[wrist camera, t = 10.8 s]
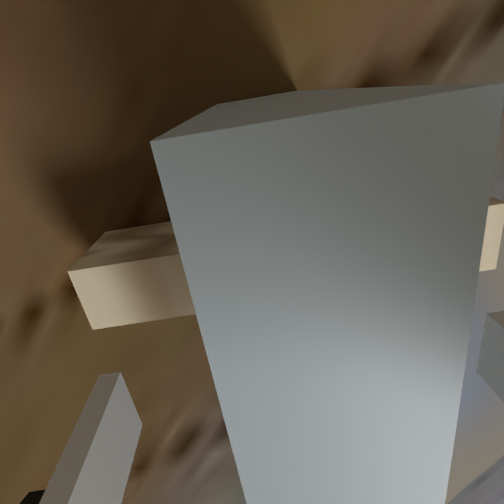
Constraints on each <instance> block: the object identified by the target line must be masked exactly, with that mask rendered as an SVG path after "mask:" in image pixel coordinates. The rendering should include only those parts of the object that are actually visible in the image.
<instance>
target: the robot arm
mask: <svg viewBox="0 0 504 504" xmlns="http://www.w3.org/2000/svg"><path fill="white" fill-rule="evenodd" d="M477 373H478V374H479V375H480V377H481V378H482V379H483V380H484V381H485V382H486V383H487V384H488V386H489V387H490V388H491V389H492V390H493V391H494V392H495V393H496V395H497V396H498V397H499V398H500V399H501V400H502V401H503V402H504V311H500V312H494V313H487V314H486V319H485V325H484V331H483V337H482V343H481V349H480V355H479V361H478V367H477ZM141 428H142V423H141V420H140V418H139V416H138V413H137V411H136V408H135V406H134V403H133V401H132V399H131V396H130V394H129V391H128V389H127V387H126V384H125V382H124V379H123V377H122V375H121V372H116V373H110V374H104V375H99V377H98V379H97V381H96V383H95V385H94V388H93V390H92V392H91V394H90V396H89V398H88V400H87V403H86V405H85V407H84V409H83V411H82V413H81V415H80V417H79V420H78V422H77V424H76V426H75V428H74V430H73V432H72V434H71V437H70V439H69V441H68V443H67V445H66V447H65V449H64V452H63V454H62V456H61V458H60V460H59V462H58V464H57V466H56V469H55V471H54V473H53V475H52V477H51V479H50V481H49V484H48V486H47V488H46V490H40V491H34V492H29V493H28V494H27V495H26V497H25V498H24V499H23V500H22V501H21V503H20V504H121V503H122V499H123V495H124V491H125V488H126V484H127V480H128V476H129V473H130V469H131V465H132V462H133V458H134V454H135V450H136V447H137V443H138V439H139V435H140V432H141Z"/></svg>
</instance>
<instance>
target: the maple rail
mask: <svg viewBox="0 0 504 504" xmlns="http://www.w3.org/2000/svg"><path fill="white" fill-rule="evenodd" d="M503 224H504V202H503V201H501V200H498V199H496V198H493V197H491V196H490V199H489V206H488V213H487V220H486V227H485V234H484V240H483V247H482V254H481V261H480V268H479V271H485V270H492V269H496V264H497V259H498V253H499V247H500V241H501V235H502V229H503ZM68 274H69V276H70V279H71V281H72V283H73V285H74V288H75V290H76V292H77V295H78V297H79V299H80V302H81V304H82V306H83V309H84V311H85V313H86V316H87V318H88V320H89V322H90V325H91V327H92V329H93V330H94V329H100V328H107V327H114V326H120V325H127V324H133V323H140V322H147V321H153V320H160V319H167V318H173V317H180V316H187V315H193V314H196V312H195V309H194V305H193V301H192V297H191V294H190V290H189V286H188V282H187V279H186V275H185V271H184V267H183V264H182V260H181V256H180V252H179V249H178V245H177V241H176V238H175V234H174V230H173V226H172V223H171V221H170V222H163V223H157V224H151V225H144V226H138V227H132V228H125V229H119V230H113V231H107V232H105V233H104V234H103V235H102V236H101V237H100V238H99V239H98V240H97V241H96V242H95V243H94V244H93V245H92V246H91V247H90V248H89V249H88V250H87V252H86V253H85V254H84V255H83V256H82V257H81V258H80V259H79V260H78V261H77V262H76V263H75V264H74V265H73V266H72V267H71V268H70V269H69V271H68Z"/></svg>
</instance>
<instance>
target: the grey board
mask: <svg viewBox="0 0 504 504" xmlns="http://www.w3.org/2000/svg"><path fill="white" fill-rule="evenodd" d="M503 104H504V82H501V83H476V84H450V85H425V86H400V87H375V88H349V89H324V90H299V91H292V92H286V93H280V94H274V95H268V96H262V97H256V98H250V99H244V100H238V101H232V102H226V103H220V104H216V105H214V106H213V107H211V108H209V109H207V110H205V111H204V112H202V113H200V114H198V115H196V116H195V117H193V118H191V119H189V120H187V121H186V122H184V123H182V124H180V125H178V126H177V127H175V128H173V129H171V130H169V131H168V132H166V133H164V134H162V135H160V136H159V137H157V138H155V139H153V140H151V141H150V144H151V148H152V152H153V155H154V159H155V163H156V167H157V170H158V174H159V178H160V182H161V185H162V189H163V193H164V196H165V200H166V204H167V208H168V211H169V215H170V219H171V223H172V226H173V230H174V234H175V238H176V241H177V245H178V249H179V252H180V256H181V260H182V264H183V267H184V271H185V275H186V279H187V282H188V286H189V290H190V294H191V297H192V301H193V305H194V309H195V312H196V316H197V320H198V323H199V327H200V331H201V335H202V338H203V342H204V346H205V350H206V353H207V357H208V361H209V365H210V368H211V372H212V376H213V379H214V383H215V387H216V391H217V394H218V398H219V402H220V406H221V409H222V413H223V417H224V421H225V424H226V428H227V432H228V435H229V439H230V443H231V447H232V450H233V454H234V458H235V462H236V465H237V469H238V473H239V477H240V480H241V484H242V488H243V491H244V495H245V499H246V503H247V504H445V499H446V493H447V486H448V479H449V473H450V466H451V459H452V451H453V445H454V438H455V432H456V425H457V418H458V411H459V404H460V397H461V391H462V384H463V377H464V370H465V363H466V356H467V350H468V343H469V336H470V329H471V322H472V315H473V309H474V302H475V295H476V288H477V281H478V274H479V268H480V261H481V254H482V247H483V240H484V234H485V227H486V220H487V213H488V206H489V199H490V193H491V186H492V179H493V172H494V165H495V158H496V152H497V145H498V138H499V131H500V124H501V118H502V111H503Z"/></svg>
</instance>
